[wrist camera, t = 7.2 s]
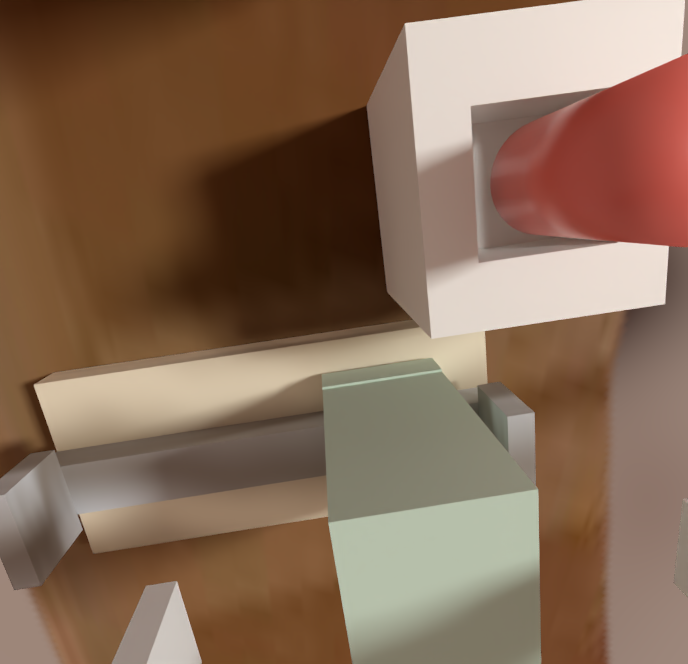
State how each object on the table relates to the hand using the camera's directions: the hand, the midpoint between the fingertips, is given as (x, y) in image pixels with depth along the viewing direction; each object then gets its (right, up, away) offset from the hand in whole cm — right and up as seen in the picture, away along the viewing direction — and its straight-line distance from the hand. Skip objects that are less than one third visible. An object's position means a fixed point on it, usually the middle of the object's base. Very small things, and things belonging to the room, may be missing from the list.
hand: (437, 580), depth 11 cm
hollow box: (+3, +13, +8) cm, 15 cm away
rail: (-6, +2, +11) cm, 12 cm away
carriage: (-1, +2, +9) cm, 9 cm away
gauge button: (+3, +11, +1) cm, 11 cm away
